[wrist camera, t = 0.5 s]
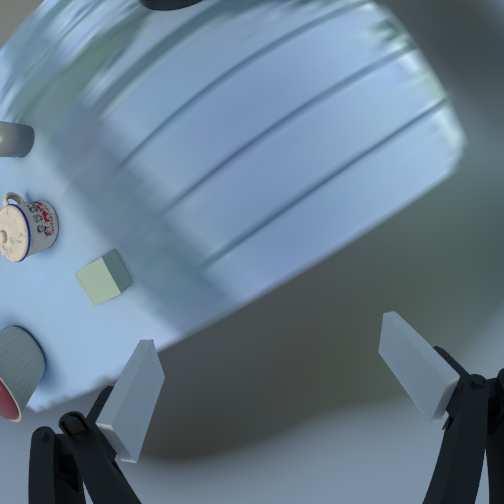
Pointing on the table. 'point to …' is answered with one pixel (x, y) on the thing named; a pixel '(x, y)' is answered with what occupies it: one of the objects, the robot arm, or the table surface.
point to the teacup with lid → (26, 227)
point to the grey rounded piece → (15, 139)
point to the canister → (18, 371)
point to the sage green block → (104, 278)
